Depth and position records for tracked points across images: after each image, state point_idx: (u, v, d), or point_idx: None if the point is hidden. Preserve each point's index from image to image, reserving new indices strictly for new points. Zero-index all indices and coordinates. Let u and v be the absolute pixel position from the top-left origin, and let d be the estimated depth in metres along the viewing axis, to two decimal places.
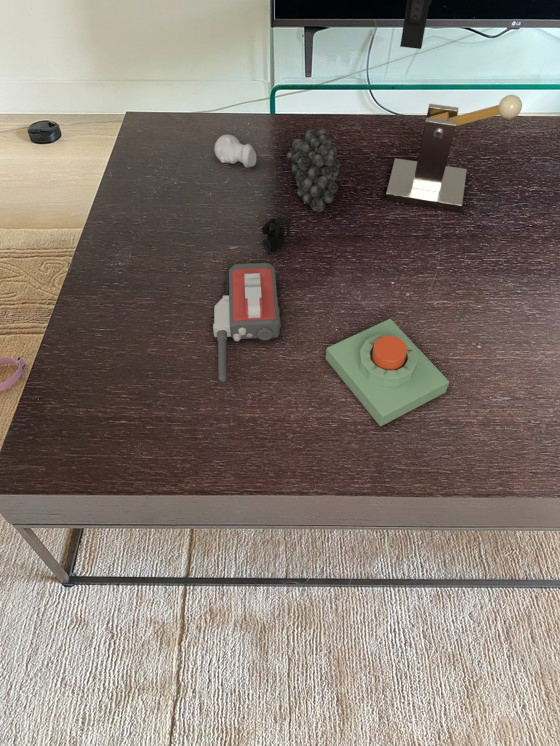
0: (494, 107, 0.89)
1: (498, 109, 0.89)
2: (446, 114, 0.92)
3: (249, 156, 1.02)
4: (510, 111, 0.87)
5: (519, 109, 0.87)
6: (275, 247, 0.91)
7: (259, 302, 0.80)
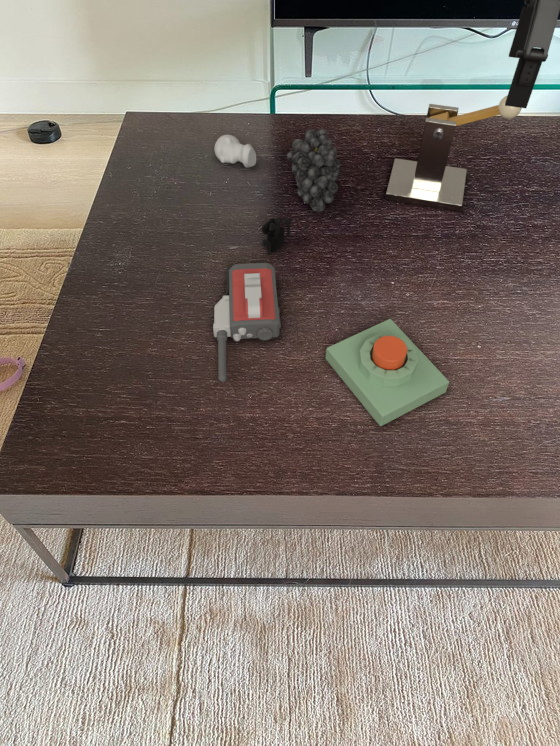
0: (494, 107, 0.89)
1: (498, 109, 0.89)
2: (446, 114, 0.92)
3: (249, 156, 1.02)
4: (510, 111, 0.87)
5: (519, 109, 0.87)
6: (275, 247, 0.91)
7: (259, 302, 0.80)
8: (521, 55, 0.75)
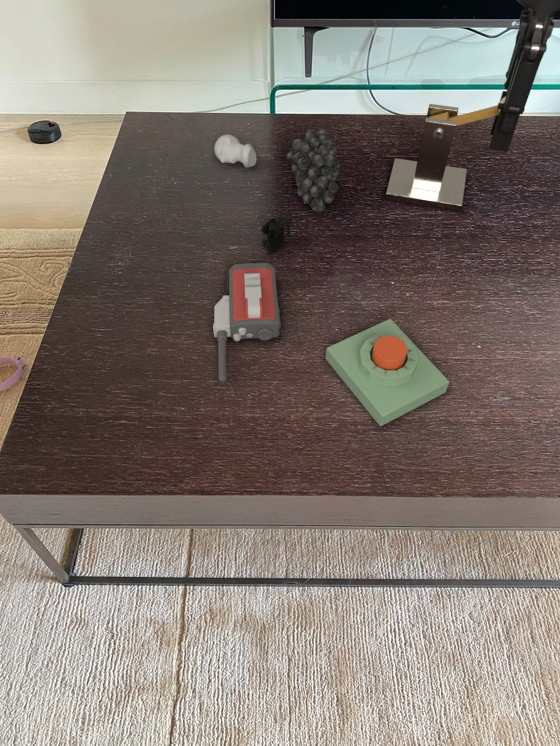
0: (494, 107, 0.89)
1: (498, 109, 0.89)
2: (446, 114, 0.92)
3: (249, 156, 1.02)
4: None
5: None
6: (275, 247, 0.91)
7: (259, 302, 0.80)
8: (501, 109, 0.86)
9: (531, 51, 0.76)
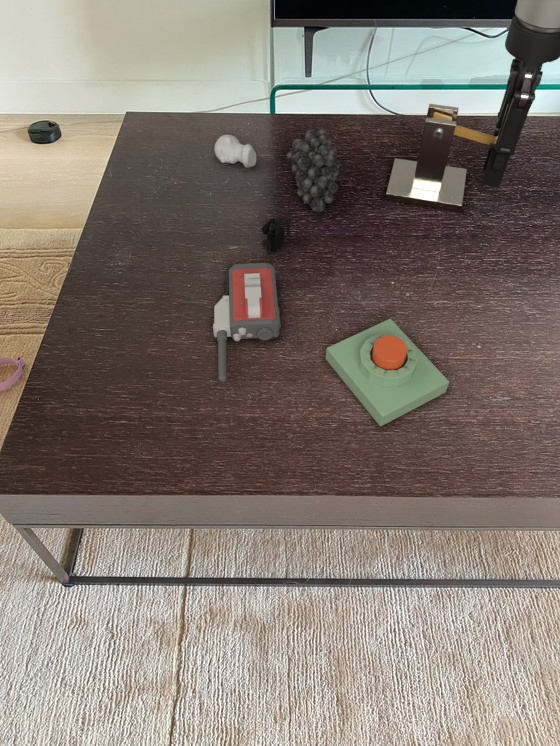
0: (492, 137, 0.93)
1: (495, 140, 0.92)
2: (450, 119, 0.92)
3: (249, 156, 1.02)
4: None
5: None
6: (275, 247, 0.91)
7: (259, 302, 0.80)
8: (493, 149, 0.91)
9: (521, 99, 0.81)
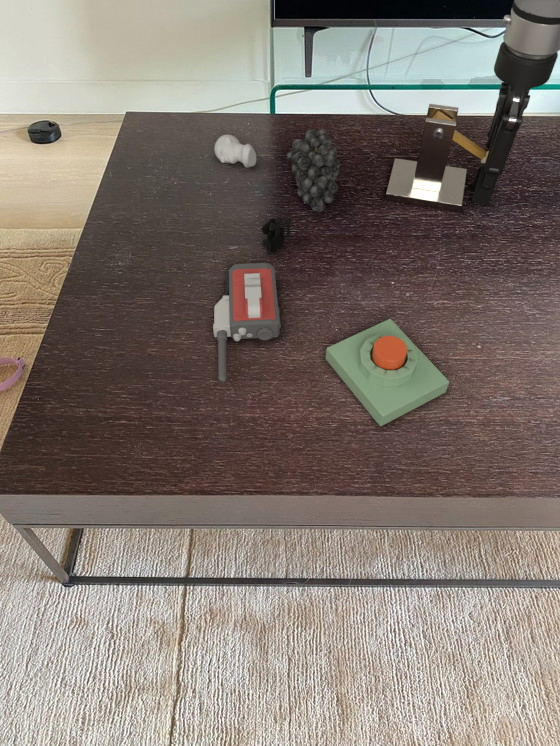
0: (483, 151, 0.95)
1: (485, 155, 0.95)
2: None
3: (249, 156, 1.02)
4: None
5: None
6: (275, 247, 0.91)
7: (259, 302, 0.80)
8: (482, 168, 0.93)
9: (509, 122, 0.84)
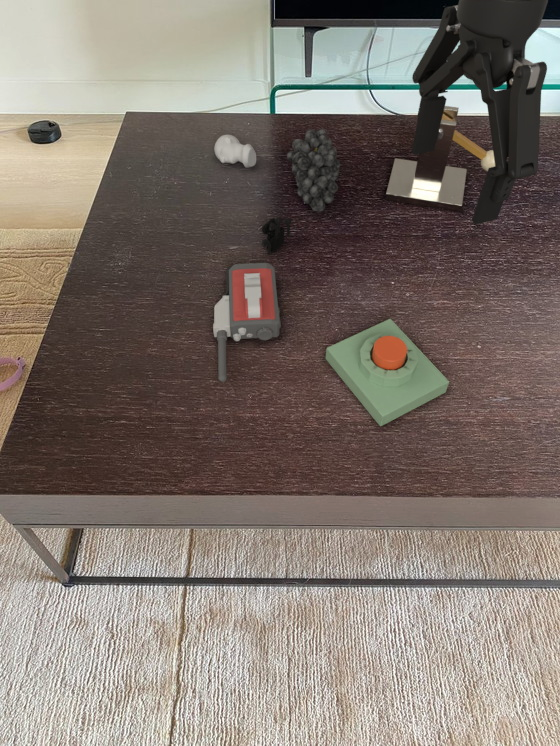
0: (483, 151, 0.95)
1: (485, 155, 0.95)
2: None
3: (249, 156, 1.02)
4: (492, 166, 0.94)
5: None
6: (275, 247, 0.91)
7: (259, 302, 0.80)
8: (500, 174, 0.60)
9: (532, 72, 0.54)
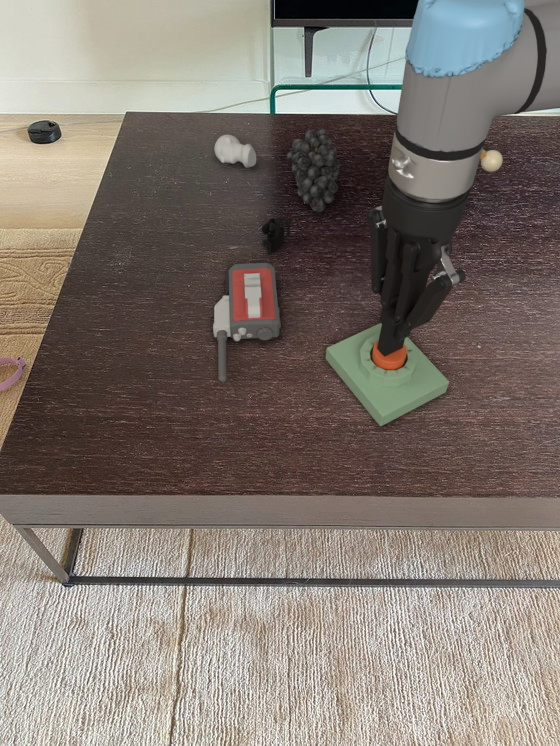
0: (483, 151, 0.95)
1: (485, 155, 0.95)
2: None
3: (249, 156, 1.02)
4: (492, 166, 0.94)
5: (496, 169, 0.95)
6: (275, 247, 0.91)
7: (259, 302, 0.80)
8: (397, 323, 0.67)
9: (452, 285, 0.58)
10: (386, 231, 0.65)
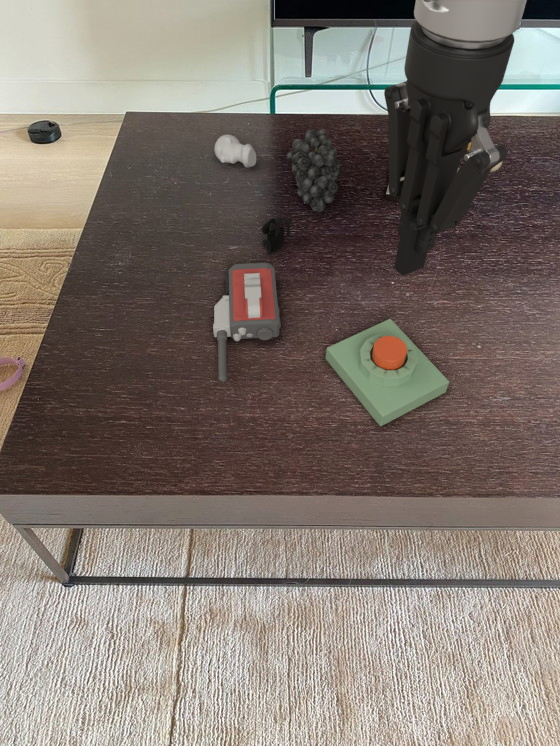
0: None
1: None
2: None
3: (249, 156, 1.02)
4: None
5: (496, 169, 0.95)
6: (275, 247, 0.91)
7: (259, 302, 0.80)
8: (419, 229, 0.57)
9: (490, 164, 0.48)
10: (407, 114, 0.54)
